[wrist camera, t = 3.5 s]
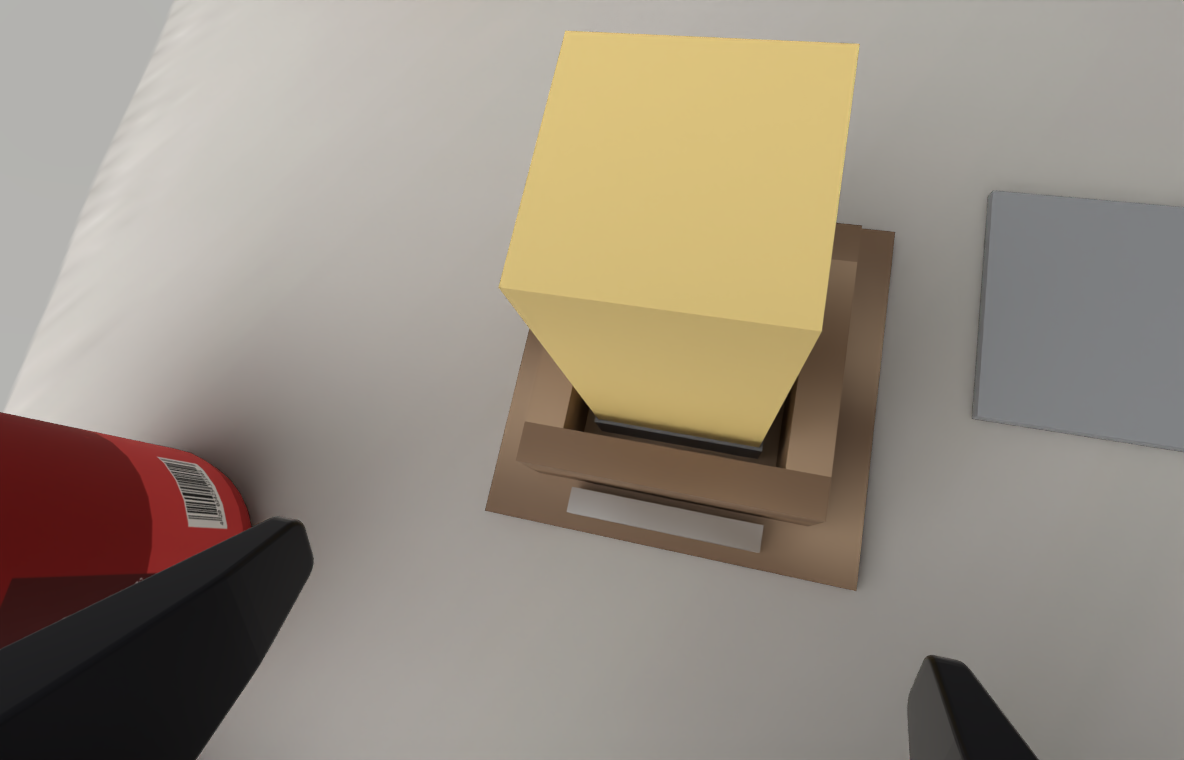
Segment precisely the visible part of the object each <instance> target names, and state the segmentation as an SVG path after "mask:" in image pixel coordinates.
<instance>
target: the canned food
mask: <svg viewBox="0 0 1184 760" xmlns="http://www.w3.org/2000/svg"><path fill="white" fill-rule="evenodd" d="M249 528H251V523H250V518H249V513H248V510H247V507H246V505H245V503H244V501H243V498H242V496H241V494H240V493H239V491H238V490H237V488H236V487H235V486H234V484H233V483H232V481H231V480H230V479H229V478H228V477H226V476H225V475H224V474H223V473H222V472H221V471H220V470H218V469H217V468H216V467H214V466H213V465H211V464H210V463H208V462H207V461H205V460H203V459H201V458H199V457H198V456H196V455H194V454H192V453H189V452H185V451H181V450H178V449H174V448H169V447H164V446H159V445H155V444H150V443H145V442H140V441H135V440H131V439H126V438H121V437H116V436H112V435H107V434H102V433H97V432H92V431H88V430H83V429H78V428H73V427H68V426H64V425H59V424H54V423H49V422H44V421H40V420H35V419H30V418H25V417H20V416H16V415H11V414H6V413H1V412H0V649H2V648H3V647H5V646H7V645H10V644H12V643H14V642H16V641H18V640H20V639H22V638H24V637H26V636H28V635H30V634H32V633H34V632H36V631H38V630H41V629H43V628H45V627H47V626H49V625H51V624H53V623H55V622H57V621H59V620H61V619H63V618H65V617H67V616H70V615H72V614H74V613H76V612H78V611H80V610H82V609H84V608H86V607H88V606H90V605H92V604H94V603H96V602H98V601H101V600H103V599H105V598H107V597H109V596H111V595H113V594H115V593H117V592H119V591H121V590H123V589H125V588H127V587H129V586H132V585H134V584H136V583H138V582H140V581H142V580H144V579H146V578H148V577H150V576H152V575H154V574H156V573H158V572H160V571H163V570H165V569H167V568H169V567H171V566H173V565H175V564H177V563H179V562H181V561H183V560H185V559H187V558H189V557H191V556H194V555H196V554H198V553H200V552H202V551H204V550H206V549H208V548H210V547H212V546H214V545H216V544H218V543H220V542H222V541H224V540H227V539H229V538H231V537H233V536H235V535H237V534H239V533H241V532H243V531H245V530H247V529H249Z"/></svg>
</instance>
